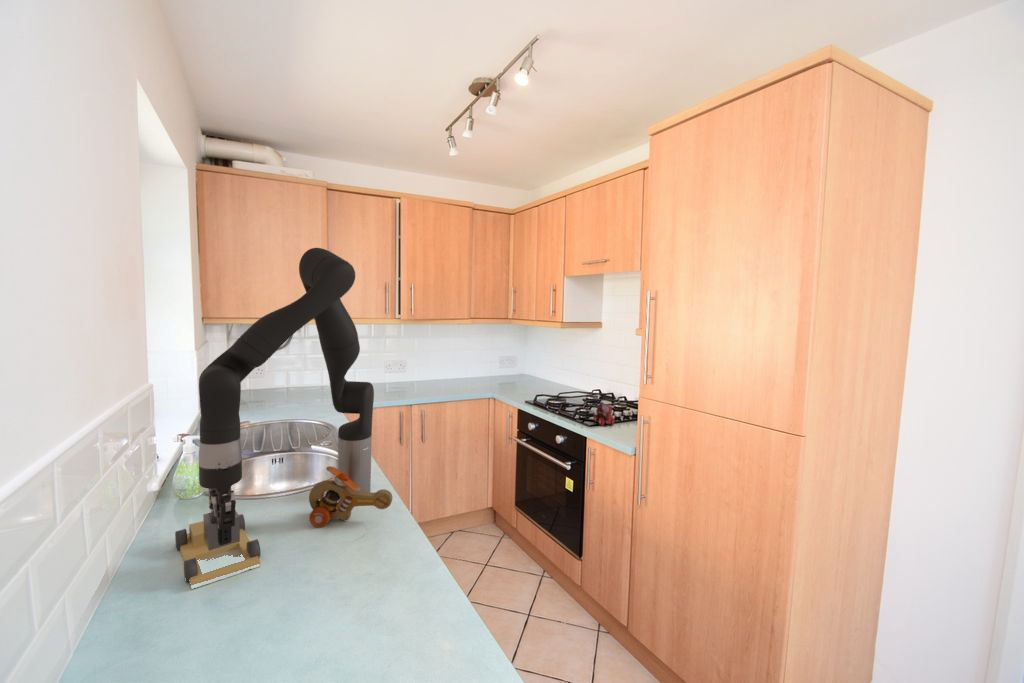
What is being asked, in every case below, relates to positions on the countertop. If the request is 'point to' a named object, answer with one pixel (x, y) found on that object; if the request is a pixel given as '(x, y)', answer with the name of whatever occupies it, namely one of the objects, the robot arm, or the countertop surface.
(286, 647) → the countertop surface
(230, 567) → the chassis
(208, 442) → the robot arm
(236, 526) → the block
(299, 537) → the countertop surface
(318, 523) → the toy helicopter
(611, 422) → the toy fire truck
